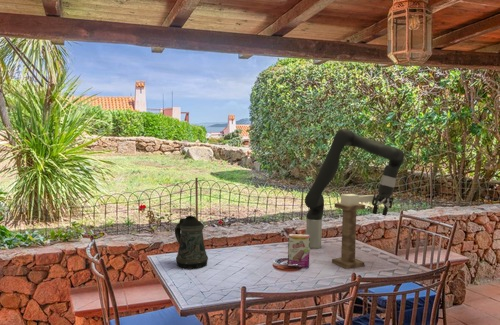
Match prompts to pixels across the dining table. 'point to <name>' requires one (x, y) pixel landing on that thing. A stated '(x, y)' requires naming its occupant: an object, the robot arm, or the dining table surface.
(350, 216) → the stand
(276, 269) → the dining table surface
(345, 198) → the handle block
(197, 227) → the beer stein
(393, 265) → the dining table surface
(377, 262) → the dining table surface
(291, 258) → the candy bar box
